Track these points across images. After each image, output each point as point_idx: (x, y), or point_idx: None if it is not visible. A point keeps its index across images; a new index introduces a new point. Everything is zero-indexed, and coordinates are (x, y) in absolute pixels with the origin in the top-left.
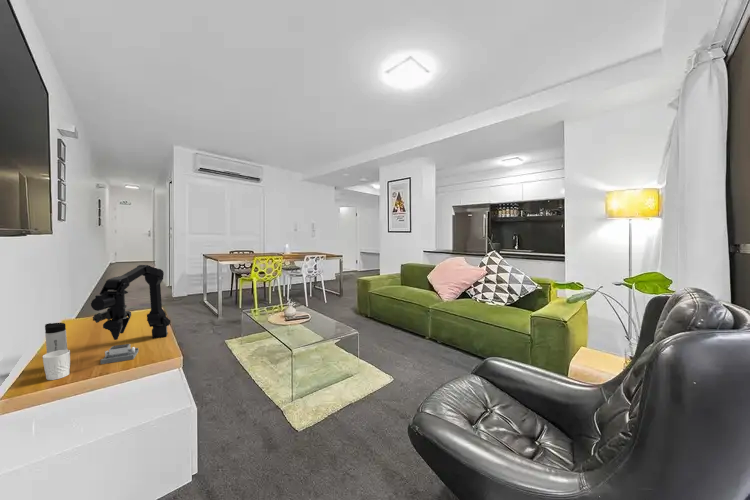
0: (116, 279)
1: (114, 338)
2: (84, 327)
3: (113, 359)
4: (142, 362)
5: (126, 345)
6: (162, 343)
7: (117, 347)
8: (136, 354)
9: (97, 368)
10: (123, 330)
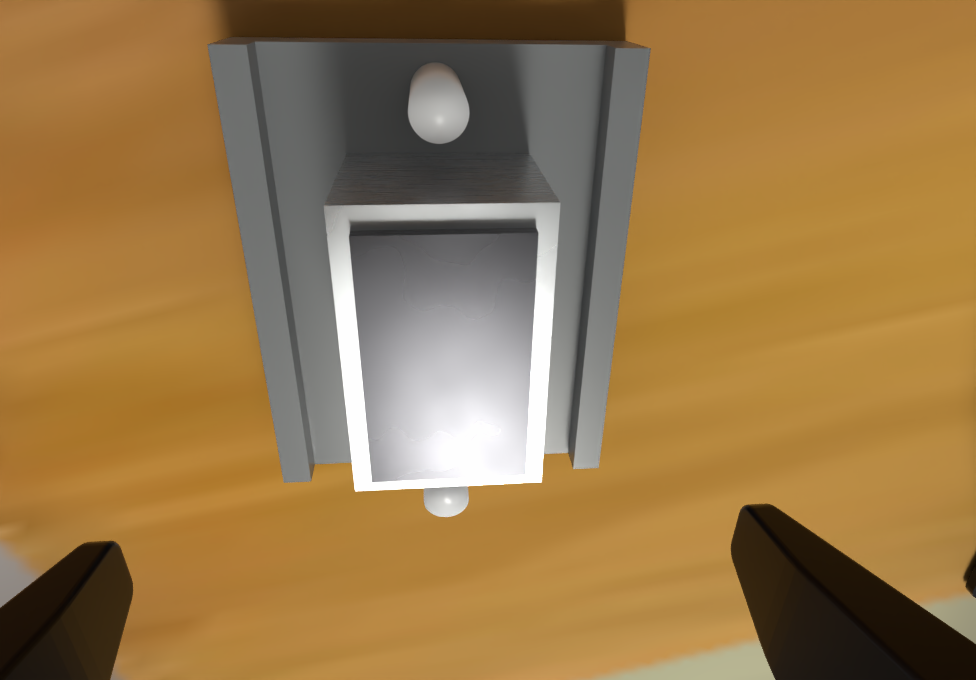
0: None
1: (38, 599)
2: None
3: (248, 242)
4: (144, 551)
5: (437, 465)
6: (736, 595)
7: (381, 348)
8: None
9: (41, 40)
10: (764, 641)
